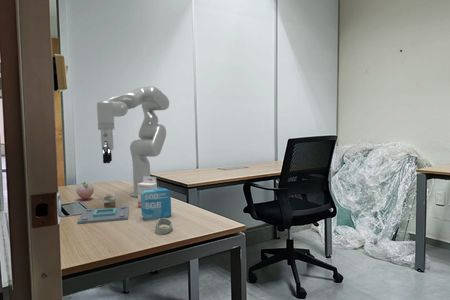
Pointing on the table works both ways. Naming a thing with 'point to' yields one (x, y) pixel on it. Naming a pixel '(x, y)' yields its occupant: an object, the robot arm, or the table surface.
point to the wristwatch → (163, 222)
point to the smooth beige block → (109, 201)
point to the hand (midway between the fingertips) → (107, 162)
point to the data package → (155, 203)
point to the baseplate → (104, 215)
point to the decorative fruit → (85, 190)
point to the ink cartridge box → (146, 186)
